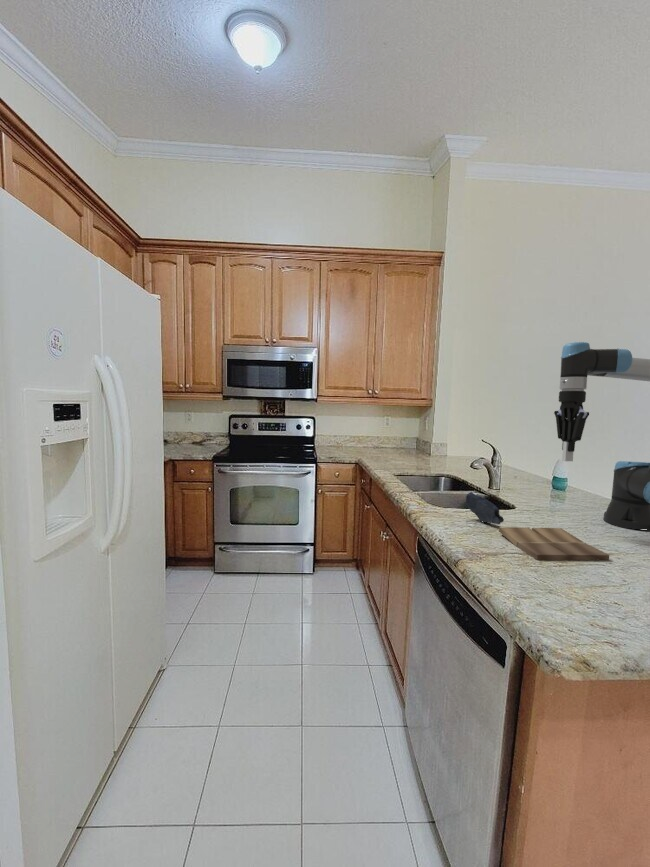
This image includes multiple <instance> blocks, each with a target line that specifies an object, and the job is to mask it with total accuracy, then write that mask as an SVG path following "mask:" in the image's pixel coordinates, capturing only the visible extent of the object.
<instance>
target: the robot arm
mask: <svg viewBox="0 0 650 867" xmlns="http://www.w3.org/2000/svg"><path fill="white" fill-rule="evenodd" d="M561 350H562V351H561V357H560V359H561V361H560V362H561V363H560V380H559V390H560V391H559V392H558V402H559V403H560V406H559V409H558V410H554V412H553V414H554V417H555V420H556V421H555V422H556V431H557V439H560V440H561V441H562V445H561V449H562V462H573V460H574V452H575V447H576V443H577V442H580V441H581V440H582V437H583V433H584V430H585V425H586V422H587V419H588V417H589V416H590V412H589V411H585V410H584V405H583V403H585V402H586V397H587V392H586V391H585V390H587V388H588V386H587V385H588V376H590V377H603V378H604V377H605V378H611V379H612V378H614V379H621V380H622V379H623V380H632V381H643V382H650V359H649V358H640V357H639V358H638V357H633V354H632V352H631V350H629V349H625V348H609V349H608V348H603V349H602V348H600V349H595V348H594V349H593V348H591V347H590V343H589V342H585V341H581V342H580V341H579V342H578V341H577V342H576V341H575V342H574V341H573V342H569V343H566V344H564V345H563V347H562V349H561ZM602 520H603V521H604V522H606V523H607V524H610V525H614V526H617V527H620V528H624V527H626V528H625V529H629V528H632V529H631V530H634V529H647V530H650V462H647V461H643V462H642V461H625V460H620V461H617V462H616V463H615V465H614V470H613V481H612V487H611V499H610V501H609V503H608V506H607V508H606V511H604V513H603V519H602Z"/></svg>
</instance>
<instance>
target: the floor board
mask: <svg viewBox="0 0 650 867" xmlns="http://www.w3.org/2000/svg"><path fill="white" fill-rule="evenodd" d="M517 548H518V549H519V550H521V551H522V552H524V553H525V554H526V555H528V556H530V557H532V558H533V559H534V560H536V561H609V560H610V554H608V553H606V552H604V551H603V550H600V549H599V548H596V547H594V546H593V545H590V544H588V543H586V541H585V542H584V541H583V542H518V546H517Z"/></svg>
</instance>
